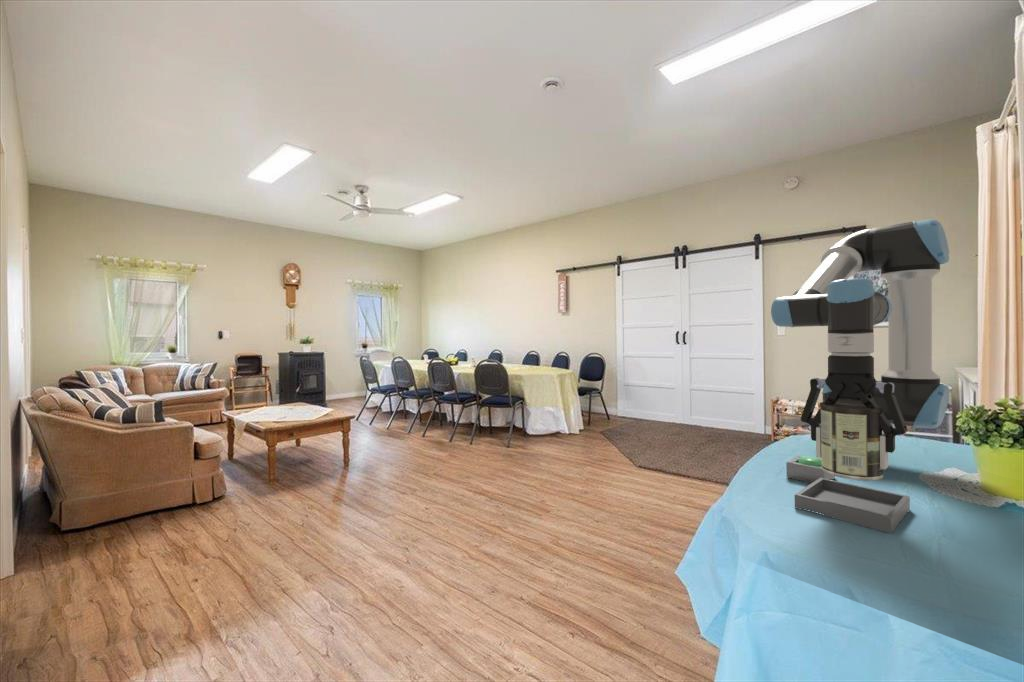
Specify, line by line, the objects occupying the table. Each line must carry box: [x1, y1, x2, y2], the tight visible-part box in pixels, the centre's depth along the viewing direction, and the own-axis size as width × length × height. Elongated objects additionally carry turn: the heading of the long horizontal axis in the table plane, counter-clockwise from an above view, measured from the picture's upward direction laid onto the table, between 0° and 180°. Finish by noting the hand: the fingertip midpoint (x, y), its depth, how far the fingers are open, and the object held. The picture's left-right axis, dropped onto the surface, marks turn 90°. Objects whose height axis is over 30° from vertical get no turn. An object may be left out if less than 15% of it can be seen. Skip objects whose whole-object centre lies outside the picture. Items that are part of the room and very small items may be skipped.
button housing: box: [785, 455, 836, 484], centre depth 110 cm, size 8×8×4 cm
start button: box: [799, 455, 822, 467], centre depth 110 cm, size 5×5×4 cm
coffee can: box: [819, 401, 884, 481], centre depth 90 cm, size 10×10×14 cm
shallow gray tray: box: [794, 478, 911, 534], centre depth 91 cm, size 16×16×3 cm
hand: (850, 461), depth 91 cm, fingers closed on coffee can, 10 cm apart
